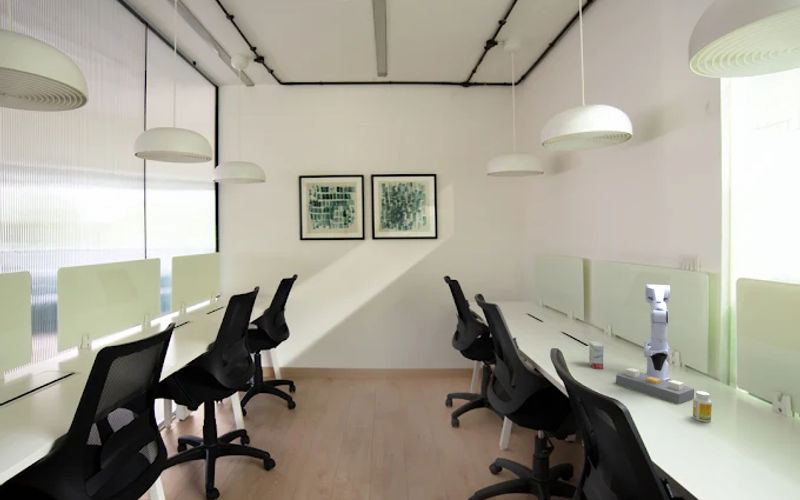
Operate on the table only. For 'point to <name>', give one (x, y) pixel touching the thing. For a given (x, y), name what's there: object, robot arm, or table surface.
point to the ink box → (596, 355)
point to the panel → (655, 388)
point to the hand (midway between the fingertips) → (657, 370)
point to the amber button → (653, 380)
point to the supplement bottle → (702, 406)
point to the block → (632, 372)
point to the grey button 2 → (676, 385)
